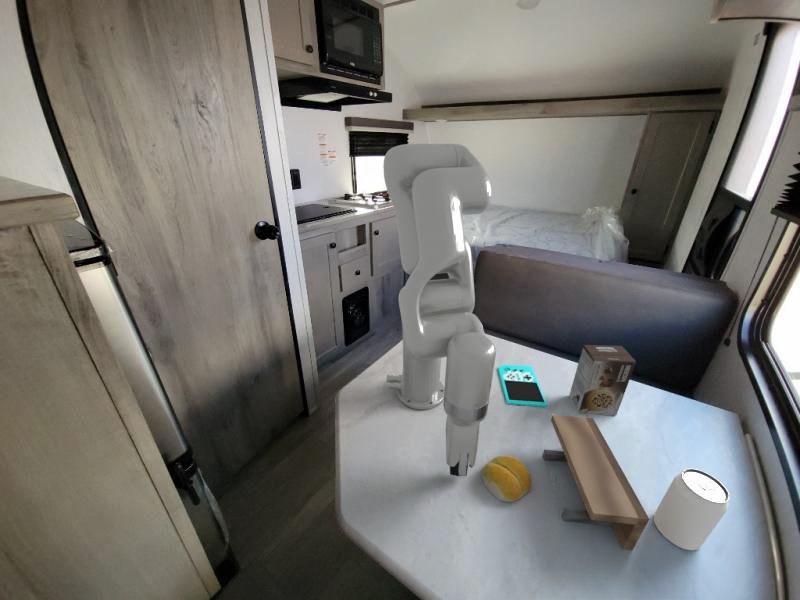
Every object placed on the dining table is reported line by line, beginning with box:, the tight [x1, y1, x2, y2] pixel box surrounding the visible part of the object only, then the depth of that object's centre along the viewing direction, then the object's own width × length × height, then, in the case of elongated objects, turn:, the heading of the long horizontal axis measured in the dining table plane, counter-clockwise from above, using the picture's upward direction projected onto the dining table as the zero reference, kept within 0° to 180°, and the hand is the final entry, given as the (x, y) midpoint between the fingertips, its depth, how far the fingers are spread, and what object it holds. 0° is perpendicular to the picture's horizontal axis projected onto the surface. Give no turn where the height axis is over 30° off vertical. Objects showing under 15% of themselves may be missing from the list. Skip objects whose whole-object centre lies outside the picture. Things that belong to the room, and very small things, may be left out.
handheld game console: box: [497, 364, 548, 408], centre depth 88 cm, size 10×16×1 cm, turn 174°
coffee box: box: [569, 344, 637, 416], centre depth 77 cm, size 9×6×16 cm
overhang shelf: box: [541, 414, 650, 551], centre depth 59 cm, size 10×20×8 cm, turn 174°
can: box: [653, 467, 730, 551], centre depth 52 cm, size 6×6×12 cm
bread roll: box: [481, 455, 533, 503], centre depth 62 cm, size 8×9×4 cm
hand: (458, 471), depth 63 cm, fingers closed
